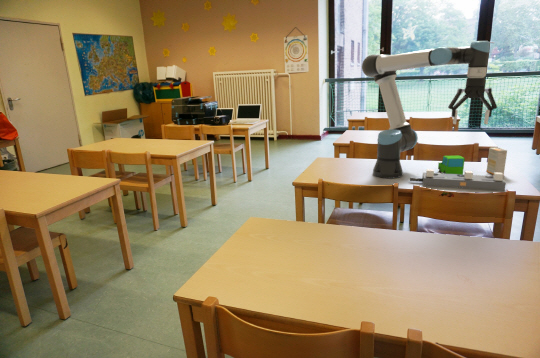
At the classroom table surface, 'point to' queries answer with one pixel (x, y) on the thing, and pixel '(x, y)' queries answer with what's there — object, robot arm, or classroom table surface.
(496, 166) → the supplement box
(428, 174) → the slider near arm
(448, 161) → the toy car
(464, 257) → the classroom table surface
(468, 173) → the slider middle
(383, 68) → the robot arm
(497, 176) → the block
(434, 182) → the power strip
